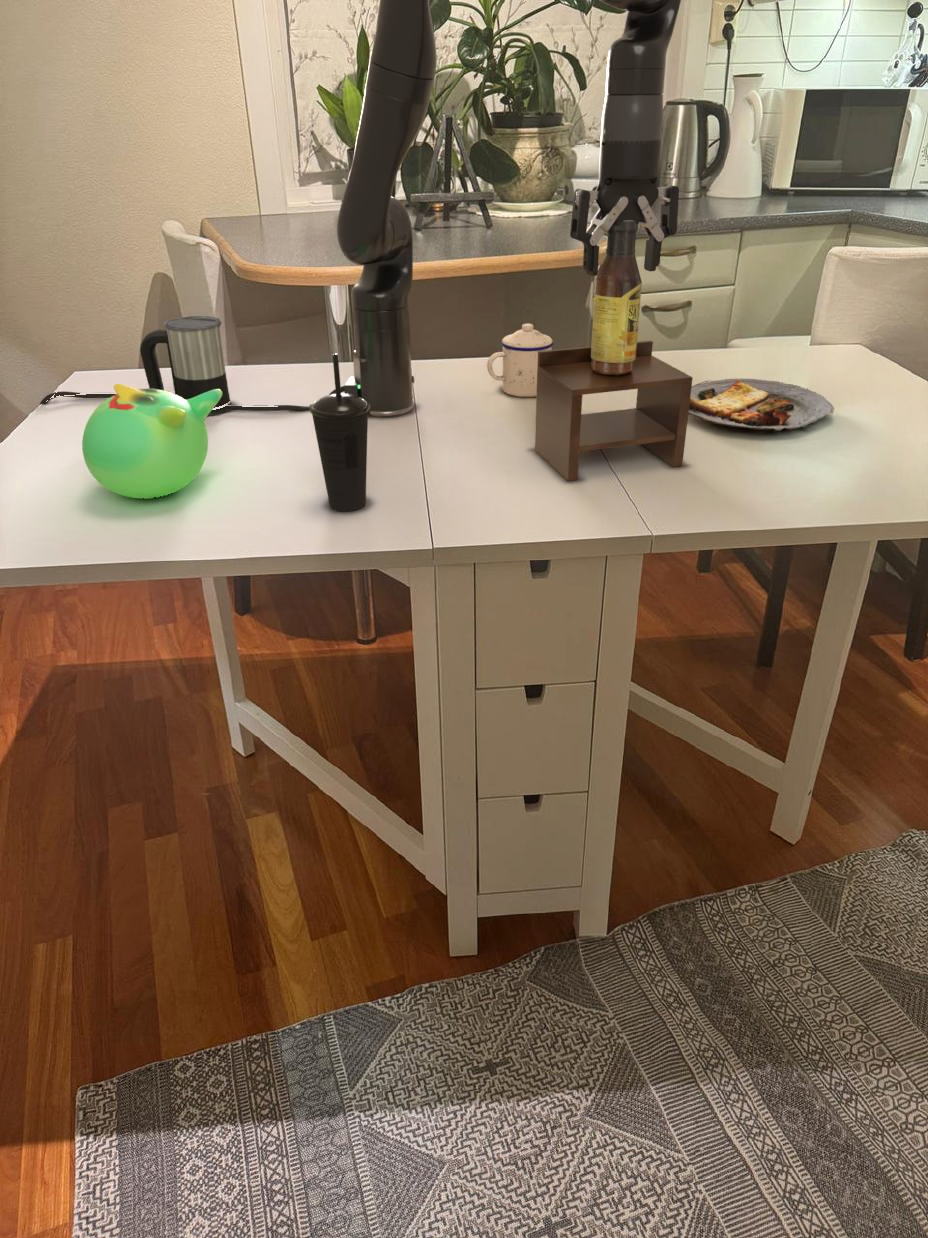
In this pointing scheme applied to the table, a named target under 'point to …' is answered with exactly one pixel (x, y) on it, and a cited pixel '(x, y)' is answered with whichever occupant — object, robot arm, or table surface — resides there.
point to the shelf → (648, 424)
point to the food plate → (757, 404)
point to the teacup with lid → (520, 361)
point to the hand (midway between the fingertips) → (620, 272)
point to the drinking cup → (342, 445)
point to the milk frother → (189, 358)
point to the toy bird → (147, 440)
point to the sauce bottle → (617, 304)
